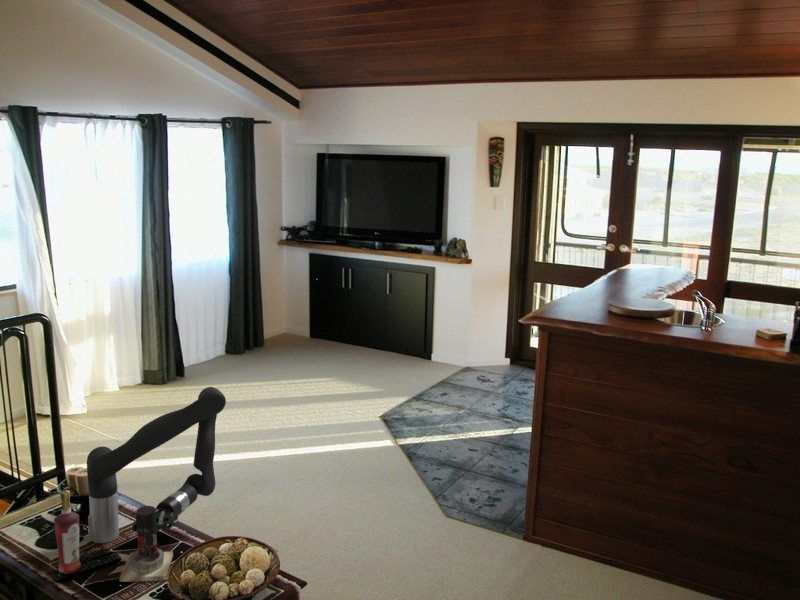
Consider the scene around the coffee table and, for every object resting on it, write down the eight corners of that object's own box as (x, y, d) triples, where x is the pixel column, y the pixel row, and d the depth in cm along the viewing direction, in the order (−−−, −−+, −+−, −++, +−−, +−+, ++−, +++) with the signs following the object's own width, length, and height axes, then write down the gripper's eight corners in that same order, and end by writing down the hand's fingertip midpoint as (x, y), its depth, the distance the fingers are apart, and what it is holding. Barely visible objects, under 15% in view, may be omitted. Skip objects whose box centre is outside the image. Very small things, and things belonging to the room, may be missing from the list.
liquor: (72, 561, 233) (68, 484, 227) (86, 568, 229) (82, 491, 224) (52, 571, 227) (47, 493, 221) (66, 579, 223) (61, 500, 217)
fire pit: (119, 581, 224) (119, 569, 223) (130, 556, 237) (130, 544, 236) (164, 580, 225) (164, 567, 224) (173, 555, 239) (172, 543, 238)
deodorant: (141, 546, 233) (138, 505, 229) (159, 545, 233) (157, 505, 230) (136, 556, 227) (133, 515, 224) (154, 556, 228) (152, 515, 224)
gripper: (155, 492, 243) (122, 516, 227) (190, 500, 238) (159, 524, 223) (156, 511, 244) (123, 536, 229) (191, 519, 240) (160, 545, 225)
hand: (141, 530), depth 226 cm, fingers closed on deodorant, 6 cm apart
